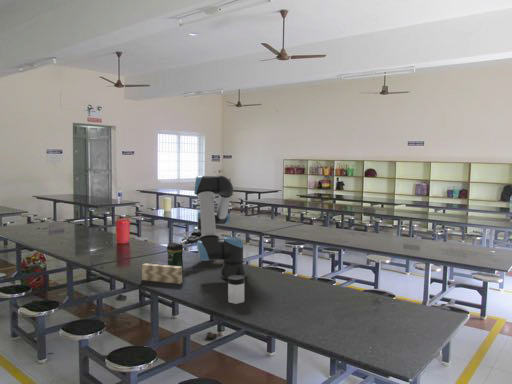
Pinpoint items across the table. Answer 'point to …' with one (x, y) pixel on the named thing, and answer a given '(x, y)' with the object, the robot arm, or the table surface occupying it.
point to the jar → (236, 289)
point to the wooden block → (162, 273)
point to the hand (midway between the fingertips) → (181, 244)
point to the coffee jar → (175, 255)
